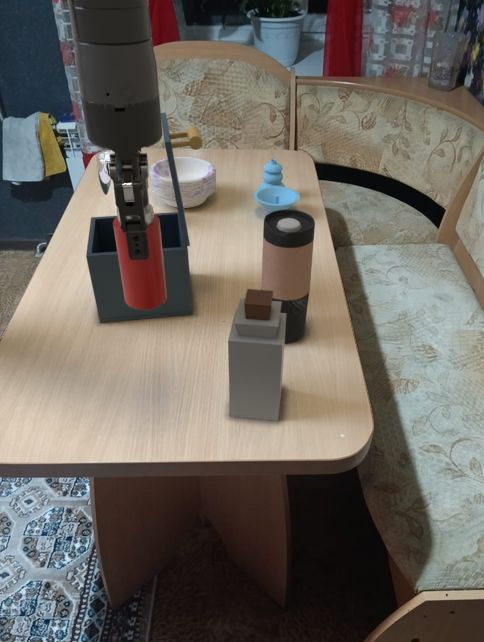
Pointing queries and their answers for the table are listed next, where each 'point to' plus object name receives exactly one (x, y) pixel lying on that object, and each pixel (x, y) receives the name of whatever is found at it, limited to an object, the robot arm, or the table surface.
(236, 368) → the perfume bottle
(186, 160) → the paper bowls
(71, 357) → the table surface
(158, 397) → the table surface
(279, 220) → the travel mug
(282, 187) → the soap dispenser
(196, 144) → the lid
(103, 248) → the chest
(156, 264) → the red bottle
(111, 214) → the beer glass
